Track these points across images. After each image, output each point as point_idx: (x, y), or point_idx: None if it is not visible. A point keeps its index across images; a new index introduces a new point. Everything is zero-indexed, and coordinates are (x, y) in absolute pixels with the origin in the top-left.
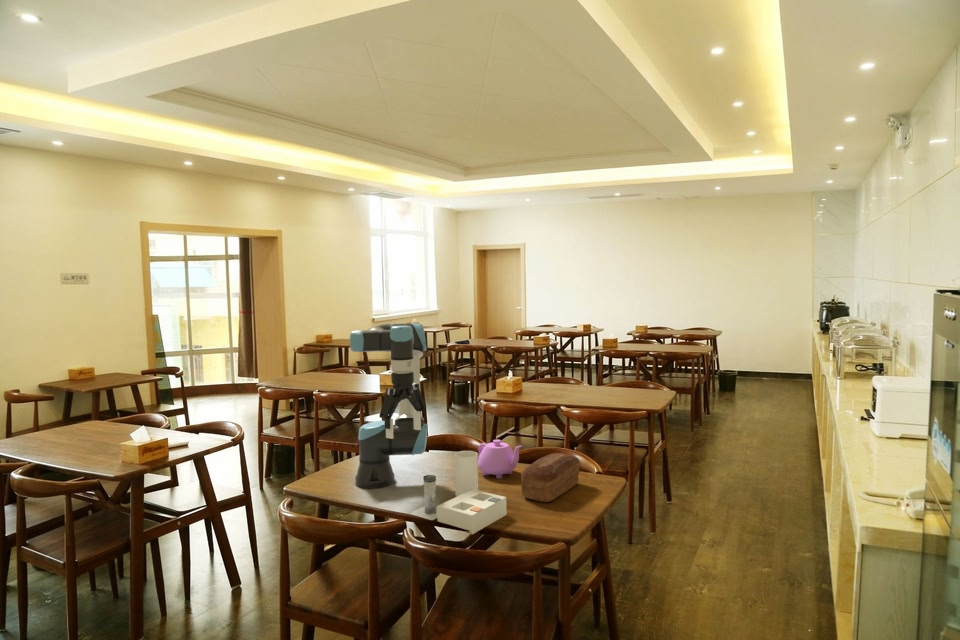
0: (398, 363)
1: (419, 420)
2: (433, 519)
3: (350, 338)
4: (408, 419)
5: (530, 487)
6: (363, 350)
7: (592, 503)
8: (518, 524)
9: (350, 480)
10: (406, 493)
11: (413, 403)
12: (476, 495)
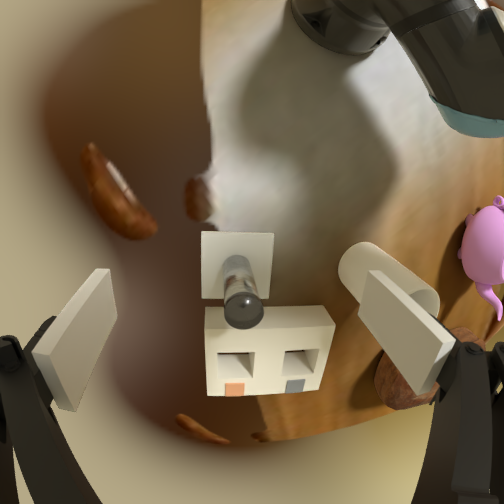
0: None
1: (386, 351)
2: (207, 298)
3: None
4: None
5: (385, 376)
6: None
7: (386, 407)
8: (281, 395)
9: None
10: (321, 123)
11: (439, 441)
12: (307, 348)
